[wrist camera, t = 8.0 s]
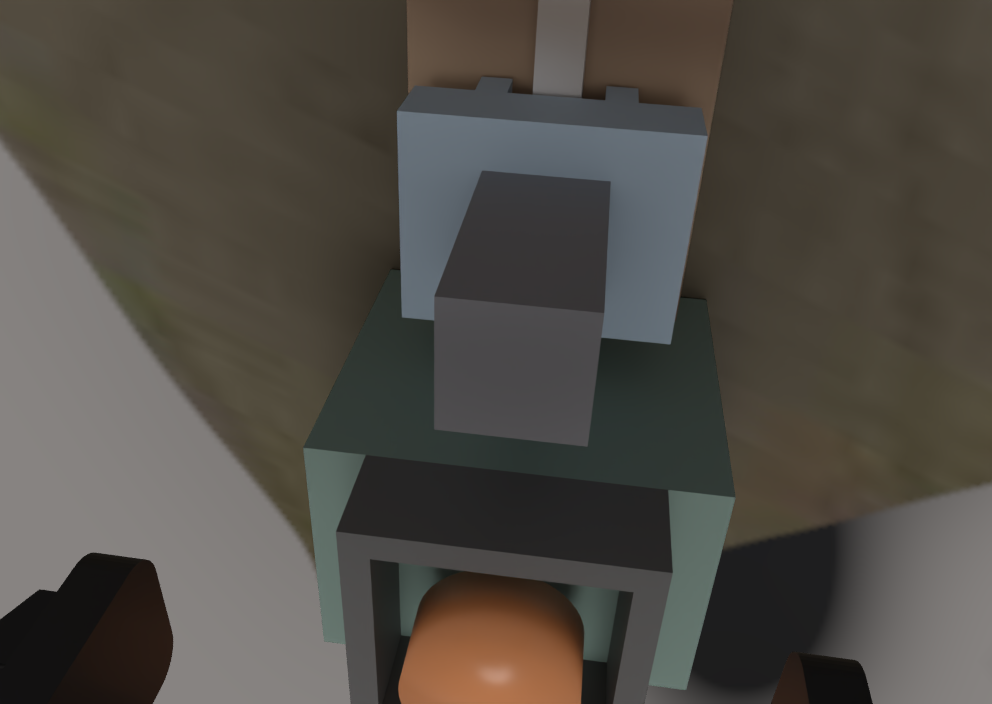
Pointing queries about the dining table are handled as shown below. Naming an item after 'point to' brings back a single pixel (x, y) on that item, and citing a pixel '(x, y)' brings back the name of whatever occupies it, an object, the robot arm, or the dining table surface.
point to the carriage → (540, 244)
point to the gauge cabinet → (523, 504)
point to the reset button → (493, 644)
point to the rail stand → (574, 49)
